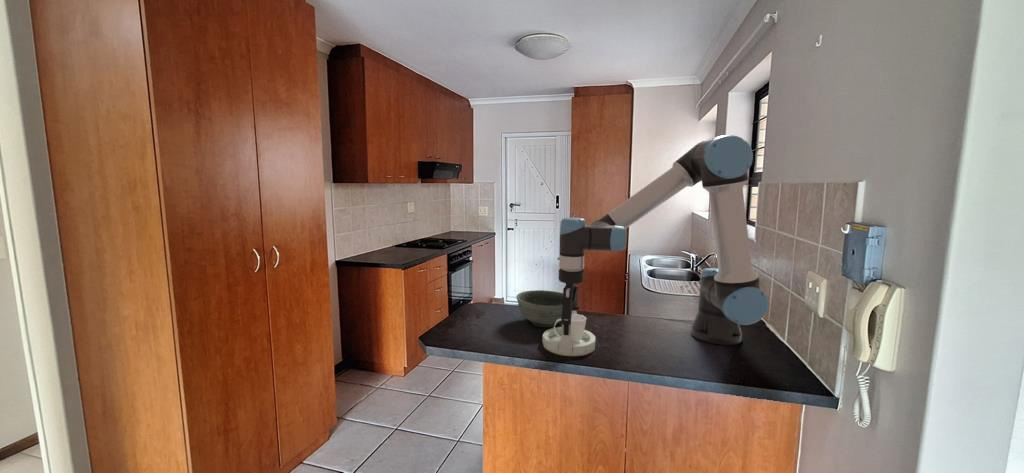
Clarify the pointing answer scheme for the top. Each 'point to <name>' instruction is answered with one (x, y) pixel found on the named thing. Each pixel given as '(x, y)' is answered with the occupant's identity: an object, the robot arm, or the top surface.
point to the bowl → (541, 307)
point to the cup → (575, 328)
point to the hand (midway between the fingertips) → (569, 336)
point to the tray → (555, 346)
